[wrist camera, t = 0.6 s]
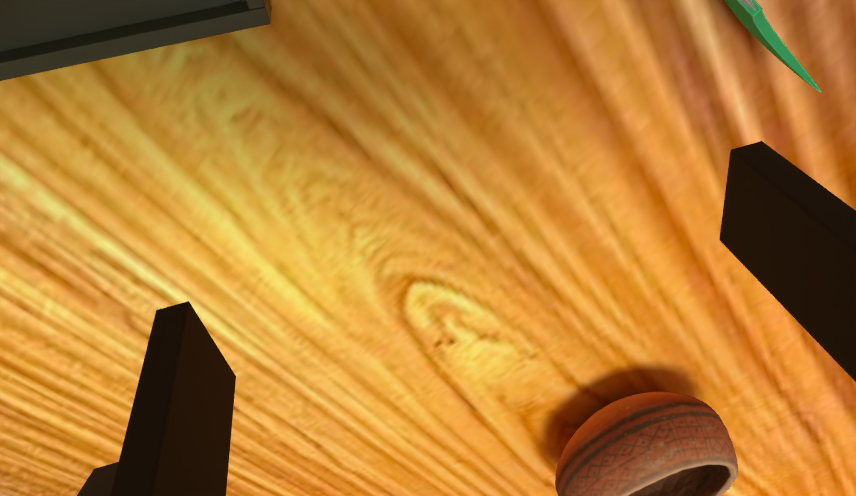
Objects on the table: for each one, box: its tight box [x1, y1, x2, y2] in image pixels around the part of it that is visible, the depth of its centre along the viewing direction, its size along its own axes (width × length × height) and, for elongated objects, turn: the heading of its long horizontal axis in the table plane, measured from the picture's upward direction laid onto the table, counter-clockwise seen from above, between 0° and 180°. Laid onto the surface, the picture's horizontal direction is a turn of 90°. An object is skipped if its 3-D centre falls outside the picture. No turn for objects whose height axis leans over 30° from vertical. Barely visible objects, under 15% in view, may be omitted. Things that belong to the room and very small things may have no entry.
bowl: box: [555, 392, 738, 496], centre depth 54 cm, size 16×16×10 cm
